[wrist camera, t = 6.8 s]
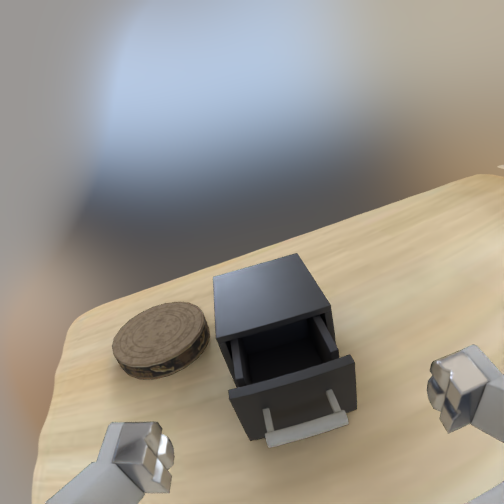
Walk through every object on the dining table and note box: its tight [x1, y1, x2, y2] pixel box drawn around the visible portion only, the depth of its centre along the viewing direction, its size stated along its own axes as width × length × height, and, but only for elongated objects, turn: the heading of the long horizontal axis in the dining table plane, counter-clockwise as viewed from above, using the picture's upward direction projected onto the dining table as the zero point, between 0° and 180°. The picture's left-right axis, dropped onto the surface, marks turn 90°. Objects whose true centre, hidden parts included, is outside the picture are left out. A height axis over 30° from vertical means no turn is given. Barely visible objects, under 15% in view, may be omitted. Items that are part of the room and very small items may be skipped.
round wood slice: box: [112, 302, 210, 379], centre depth 49 cm, size 16×16×3 cm
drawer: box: [228, 315, 357, 448], centre depth 32 cm, size 18×11×7 cm, turn 7°
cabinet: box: [213, 253, 336, 388], centre depth 42 cm, size 15×13×9 cm
